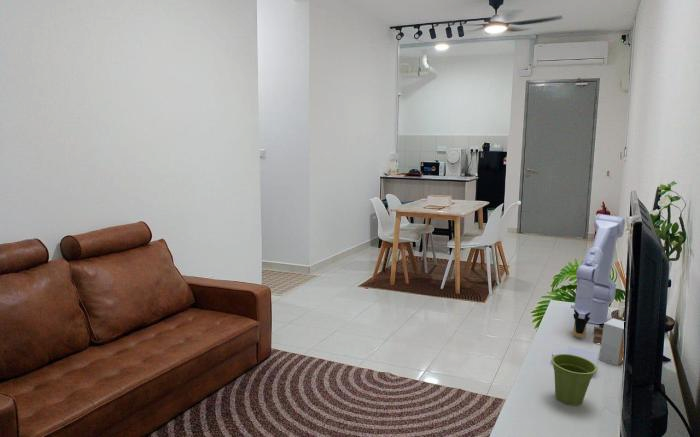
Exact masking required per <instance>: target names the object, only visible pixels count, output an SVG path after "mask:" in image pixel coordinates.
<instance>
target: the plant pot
mask: <svg viewBox="0 0 700 437" xmlns="http://www.w3.org/2000/svg"><path fill="white" fill-rule="evenodd" d="M551 360H552V362H553V364H552V366H553V370H554V396H555V398H556V399H557V401H558V402H560V403H562V404H564V405H571V406H575V407H577V406H580V405H582V404H583V402H584V399H585V397H586V395H587V394H586V393H587V391H588V388H589V385H590V382H591V380H592V378H593V376H594V374H595V373H596V372H597V371H598V366H597V364H596V365H595V364H594V363H593V362H591V361H589V360H587V359H585V358H583V357H580V356H576V355H571V354H557V355H554V356H553V357H552V356H551Z"/></svg>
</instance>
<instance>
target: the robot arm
mask: <svg viewBox="0 0 700 437" xmlns="http://www.w3.org/2000/svg"><path fill="white" fill-rule="evenodd" d="M625 220H626V219H625V218H624V217H623V216H615V215H611V214H610V215H609V214H602V213H597V214H596V215H595V217H594V220H593V227H594V231H595V232H596V234H595V236H594V240H593V243H592V247H590V248H588V249H587V250H586V253H585V255H584V258H583V261H582V263H581V264H579V265H578V266H577V268H576V272H575V273H576V274H575V275H576V286H577V287H576V291H575V292H576V293H575V298H574V299H575V300H574V304H572V305H570V309H573V311H574V313H573V315H572V316H573V319H574V324H576V333H580V334H582V333H583V331H584V328H585V325H586V326H587V324H586V323H589V324H594V325H599V324H600V323H604V322H607V321H608V313H609V306H610V303H612V302H613V301H614V300H615V297H616V290H617V289H616V286H617V285H616V282H614V280H613V279H612V278H611V277H610V276H611V270H612V267H613V266H612V265H613V261H614V260H613V259H614V254H615V249H616V244H617V241H618V238H622V237H623V235H624V230H625V225H626V224H625V223H626V221H625Z"/></svg>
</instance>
